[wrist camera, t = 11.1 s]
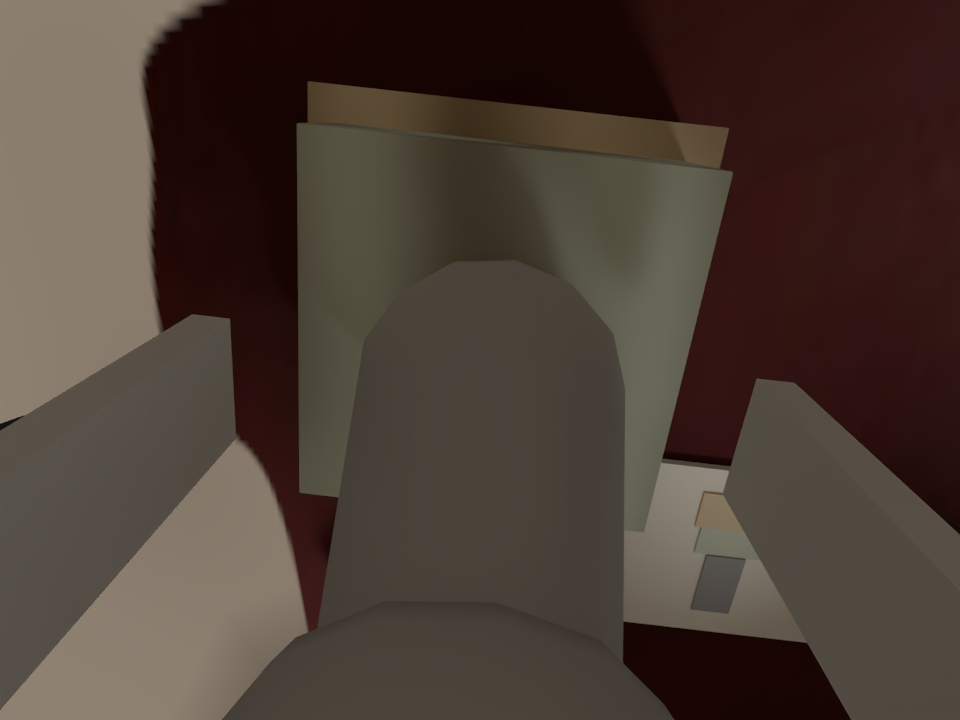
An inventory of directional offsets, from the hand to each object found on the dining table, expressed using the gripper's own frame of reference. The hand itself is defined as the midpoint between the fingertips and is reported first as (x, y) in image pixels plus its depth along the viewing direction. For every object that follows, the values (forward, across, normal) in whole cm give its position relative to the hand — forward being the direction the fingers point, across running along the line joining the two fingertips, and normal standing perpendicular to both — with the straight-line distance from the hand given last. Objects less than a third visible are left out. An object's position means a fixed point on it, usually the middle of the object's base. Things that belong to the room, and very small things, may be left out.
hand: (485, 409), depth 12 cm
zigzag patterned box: (+12, 0, 0) cm, 12 cm away
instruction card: (+12, -12, +12) cm, 21 cm away
